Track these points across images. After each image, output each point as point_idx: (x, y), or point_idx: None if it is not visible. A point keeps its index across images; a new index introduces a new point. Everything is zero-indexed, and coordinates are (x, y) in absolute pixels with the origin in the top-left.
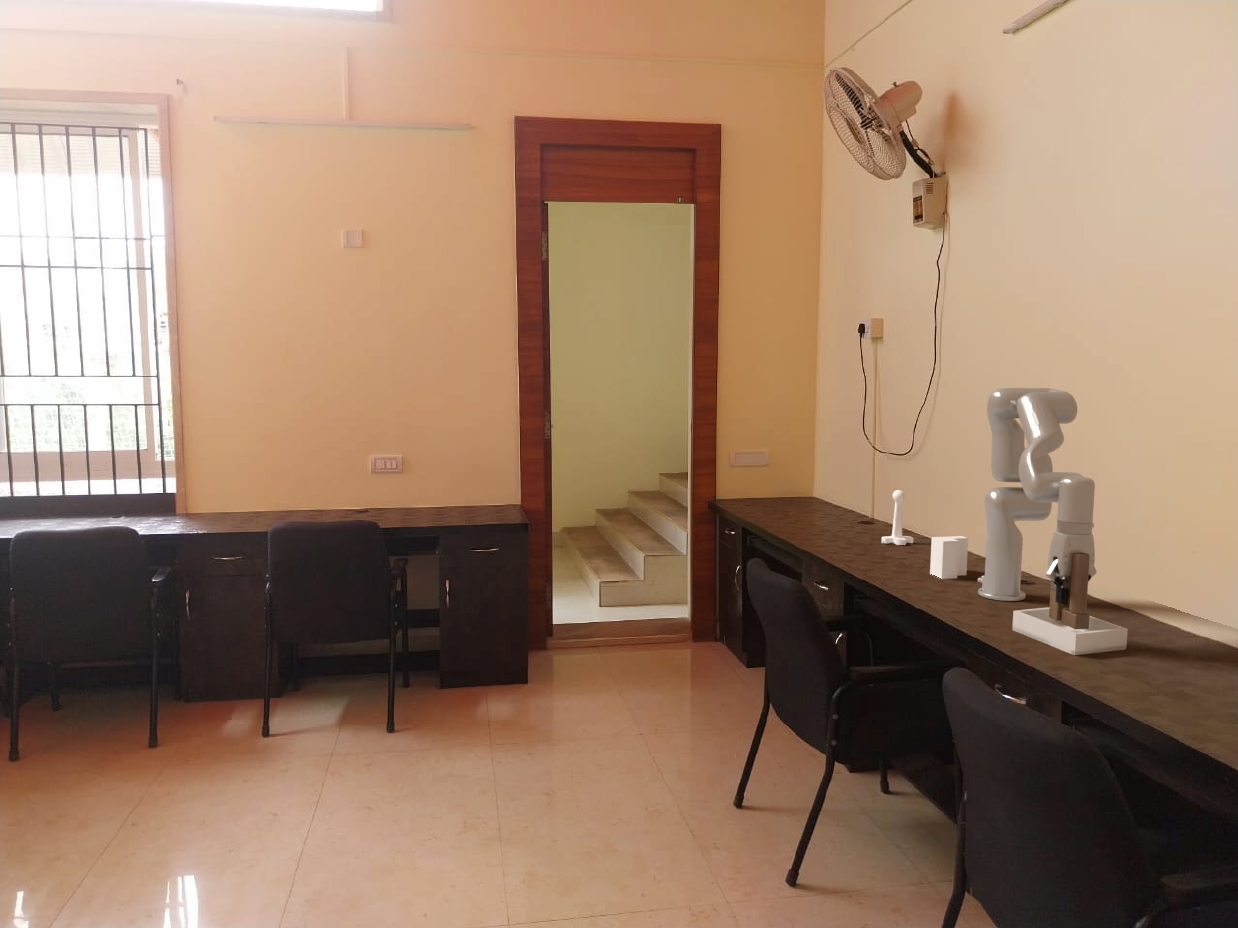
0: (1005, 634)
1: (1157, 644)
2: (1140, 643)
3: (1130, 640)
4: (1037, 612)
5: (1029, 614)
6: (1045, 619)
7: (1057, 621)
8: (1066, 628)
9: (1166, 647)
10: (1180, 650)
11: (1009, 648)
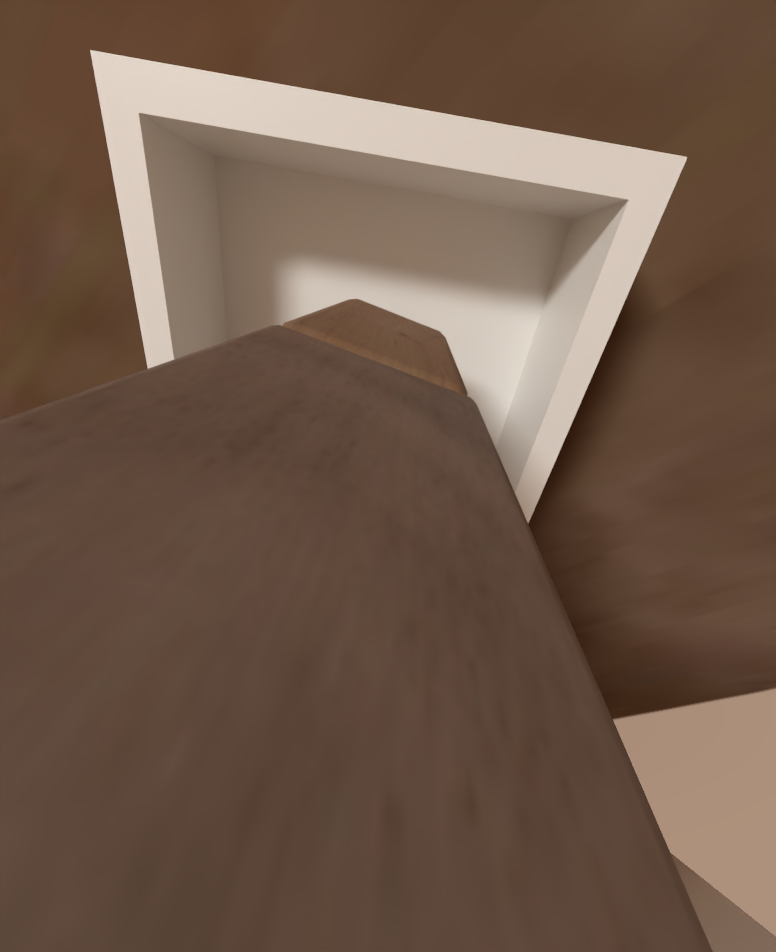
0: (103, 187)
1: (626, 596)
2: (587, 567)
3: (599, 535)
4: (354, 156)
5: (270, 145)
6: (440, 189)
7: (546, 213)
8: (475, 334)
9: (610, 620)
10: (610, 647)
11: (18, 384)
